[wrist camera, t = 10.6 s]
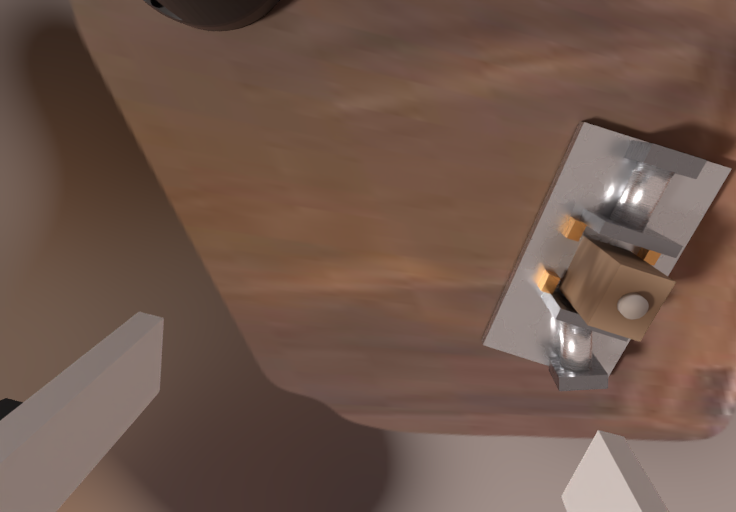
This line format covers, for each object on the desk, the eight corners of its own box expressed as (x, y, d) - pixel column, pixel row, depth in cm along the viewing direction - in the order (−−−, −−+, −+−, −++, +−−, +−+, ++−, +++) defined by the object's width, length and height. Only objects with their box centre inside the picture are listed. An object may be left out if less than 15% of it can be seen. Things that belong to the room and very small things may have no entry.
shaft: (547, 314, 39) (558, 331, 36) (594, 310, 38) (609, 327, 35) (548, 370, 41) (559, 391, 38) (593, 367, 40) (607, 388, 37)
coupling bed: (579, 121, 34) (606, 124, 30) (723, 167, 34) (773, 176, 30) (481, 339, 42) (490, 370, 37) (600, 377, 42) (624, 413, 37)
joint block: (583, 236, 36) (624, 267, 29) (629, 250, 36) (681, 285, 29) (558, 287, 38) (590, 329, 31) (601, 301, 38) (644, 346, 31)
